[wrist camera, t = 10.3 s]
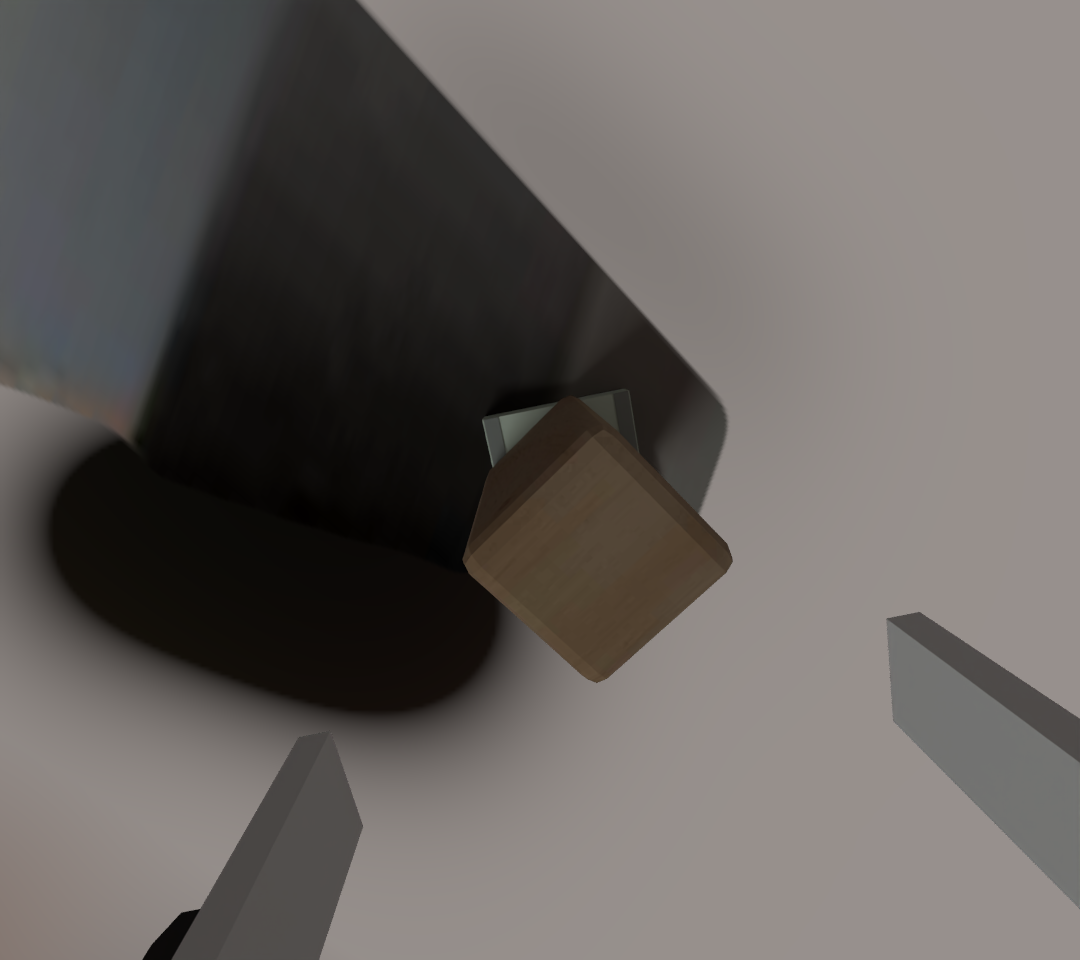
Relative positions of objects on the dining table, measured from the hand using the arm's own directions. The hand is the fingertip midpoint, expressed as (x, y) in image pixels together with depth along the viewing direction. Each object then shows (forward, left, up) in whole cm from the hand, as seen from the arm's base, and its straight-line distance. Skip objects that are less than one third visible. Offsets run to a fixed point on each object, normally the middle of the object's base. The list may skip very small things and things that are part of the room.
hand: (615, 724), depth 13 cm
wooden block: (+2, +1, -34) cm, 34 cm away
